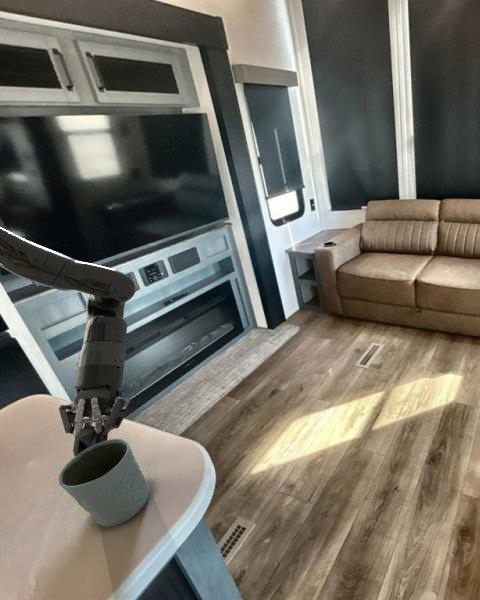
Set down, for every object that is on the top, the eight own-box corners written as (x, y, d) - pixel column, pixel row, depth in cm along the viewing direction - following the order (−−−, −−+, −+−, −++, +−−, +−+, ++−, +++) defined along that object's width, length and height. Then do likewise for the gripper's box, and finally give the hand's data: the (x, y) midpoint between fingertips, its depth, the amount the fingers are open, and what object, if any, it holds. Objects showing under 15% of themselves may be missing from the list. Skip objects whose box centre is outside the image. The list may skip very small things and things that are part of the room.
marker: (104, 478, 75) (73, 437, 69) (113, 466, 77) (84, 426, 72) (117, 477, 75) (87, 436, 69) (126, 465, 77) (98, 425, 72)
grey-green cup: (87, 510, 69) (51, 469, 63) (144, 470, 75) (116, 429, 70) (104, 542, 63) (67, 499, 57) (165, 495, 70) (136, 453, 64)
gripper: (51, 367, 72) (34, 461, 67) (119, 359, 72) (108, 453, 67) (84, 371, 79) (71, 456, 74) (147, 364, 79) (138, 449, 74)
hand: (89, 454), depth 70 cm, fingers closed on marker, 2 cm apart
